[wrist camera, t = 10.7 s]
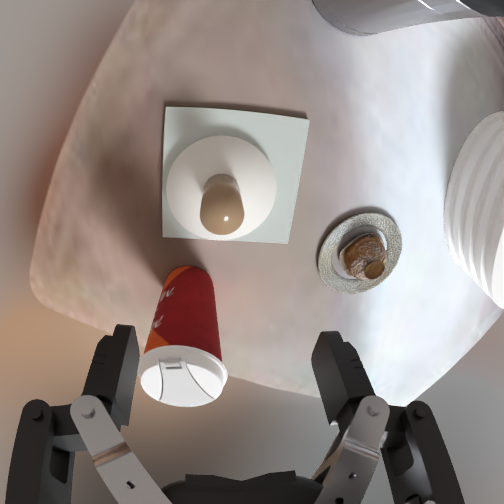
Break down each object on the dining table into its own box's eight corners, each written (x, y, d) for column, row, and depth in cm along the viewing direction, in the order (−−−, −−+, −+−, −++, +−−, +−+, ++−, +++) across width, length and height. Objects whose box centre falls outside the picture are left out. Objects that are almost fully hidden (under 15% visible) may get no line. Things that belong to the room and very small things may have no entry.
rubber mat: (166, 106, 26) (165, 107, 25) (308, 119, 28) (309, 120, 27) (163, 234, 33) (162, 237, 32) (286, 241, 35) (287, 243, 34)
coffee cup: (150, 260, 34) (121, 359, 21) (219, 254, 35) (222, 355, 22) (164, 313, 38) (150, 411, 25) (225, 309, 39) (232, 408, 26)
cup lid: (169, 132, 26) (155, 144, 20) (282, 140, 28) (299, 155, 22) (167, 233, 32) (156, 269, 26) (266, 238, 34) (278, 274, 28)
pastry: (402, 266, 39) (418, 285, 36) (329, 301, 41) (339, 324, 37) (389, 194, 33) (409, 209, 30) (302, 233, 35) (313, 253, 31)
